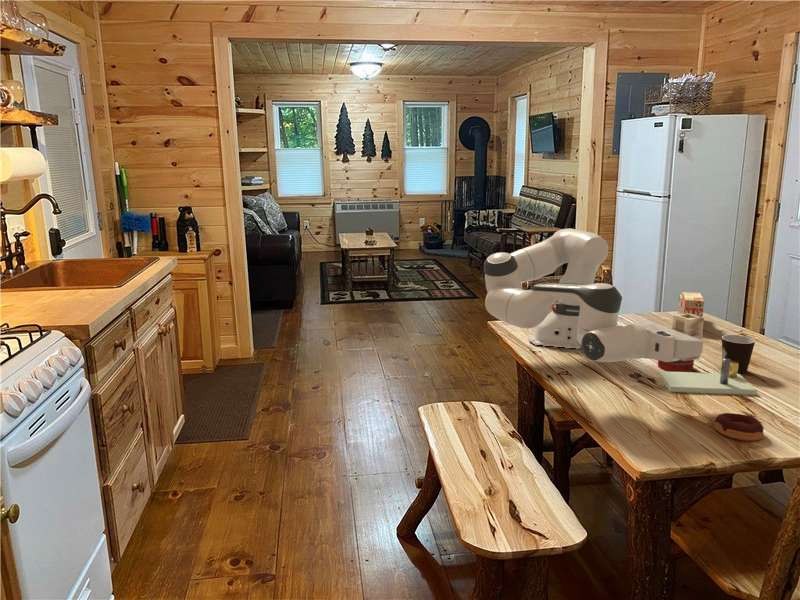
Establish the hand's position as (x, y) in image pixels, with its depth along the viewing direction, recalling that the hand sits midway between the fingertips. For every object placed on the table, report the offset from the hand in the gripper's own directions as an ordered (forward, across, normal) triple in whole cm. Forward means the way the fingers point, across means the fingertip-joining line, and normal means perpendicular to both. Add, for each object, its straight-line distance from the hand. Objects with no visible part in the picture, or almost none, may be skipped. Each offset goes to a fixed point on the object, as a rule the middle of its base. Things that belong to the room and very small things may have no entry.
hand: (689, 334), depth 152 cm
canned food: (+15, -20, -18) cm, 31 cm away
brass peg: (+22, -6, -16) cm, 28 cm away
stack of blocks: (+53, -56, -18) cm, 80 cm away
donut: (-2, +20, -18) cm, 28 cm away
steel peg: (+16, -2, -16) cm, 23 cm away
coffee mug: (+30, -13, -18) cm, 38 cm away
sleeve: (-1, 0, -6) cm, 6 cm away
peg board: (+13, -6, -18) cm, 23 cm away
